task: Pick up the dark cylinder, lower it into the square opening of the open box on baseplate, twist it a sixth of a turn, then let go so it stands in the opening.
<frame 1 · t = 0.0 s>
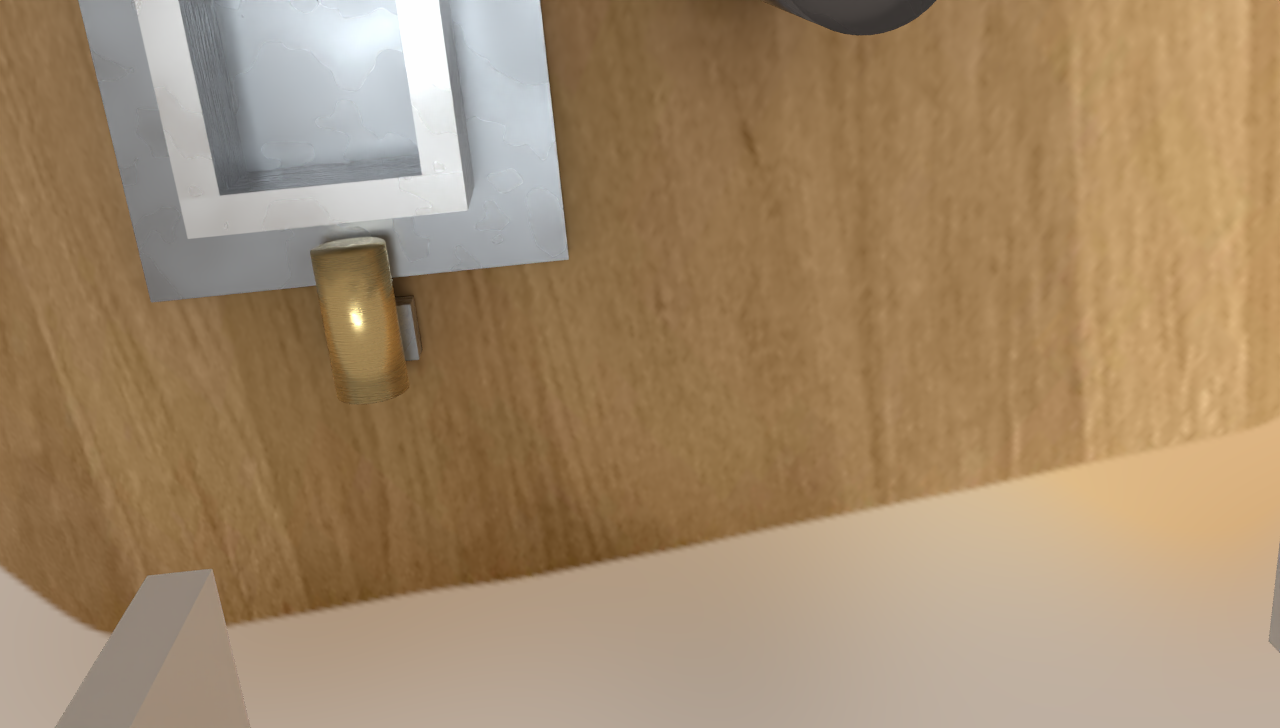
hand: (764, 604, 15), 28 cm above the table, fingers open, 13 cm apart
open box on baseplate: (329, 64, 39), on the table
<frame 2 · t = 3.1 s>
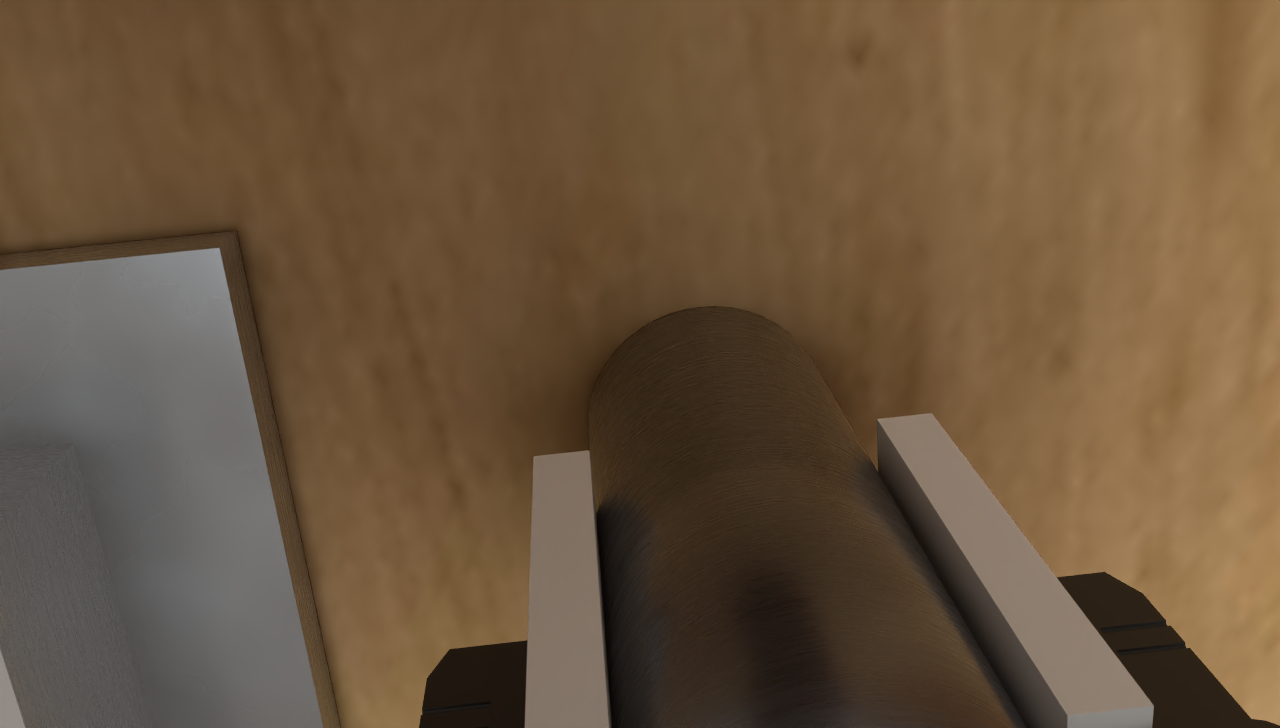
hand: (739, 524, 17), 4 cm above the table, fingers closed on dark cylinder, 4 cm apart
dark cylinder: (708, 421, 20), on the table, touching gripper
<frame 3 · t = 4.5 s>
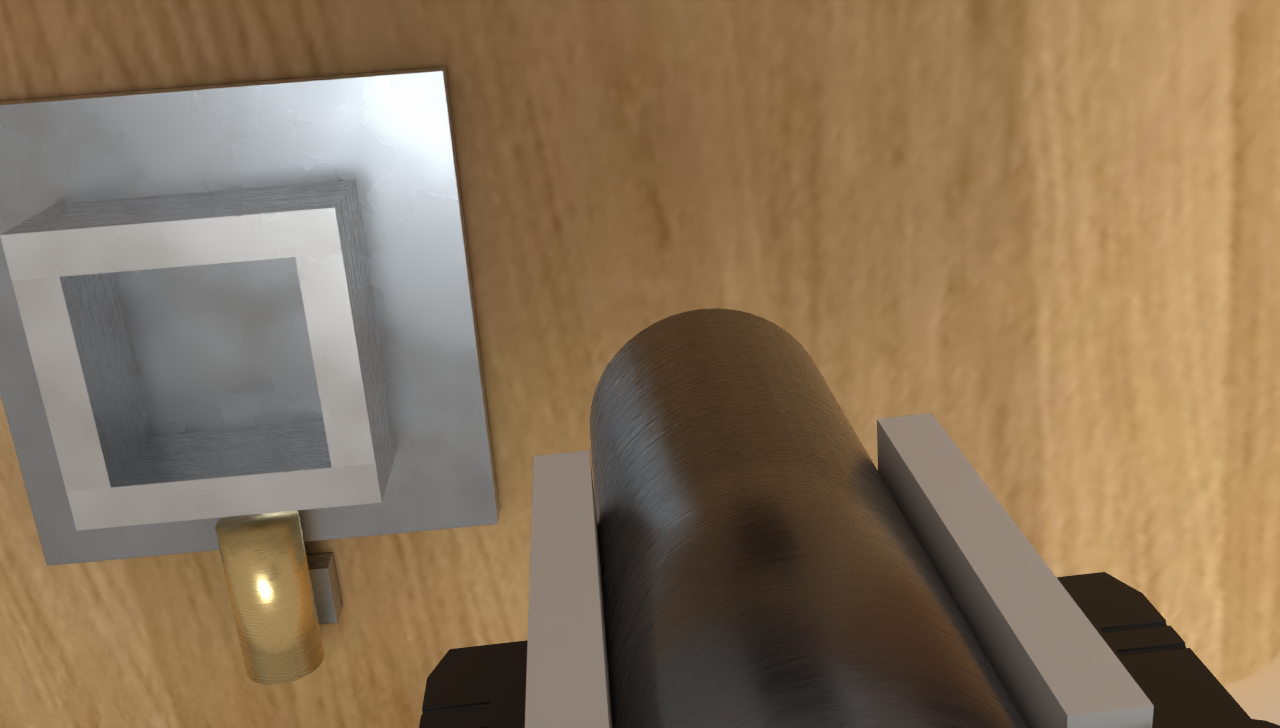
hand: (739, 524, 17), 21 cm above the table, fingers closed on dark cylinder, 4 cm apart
dark cylinder: (709, 422, 20), point 17 cm above the table, touching gripper
open box on baseplate: (241, 322, 36), on the table
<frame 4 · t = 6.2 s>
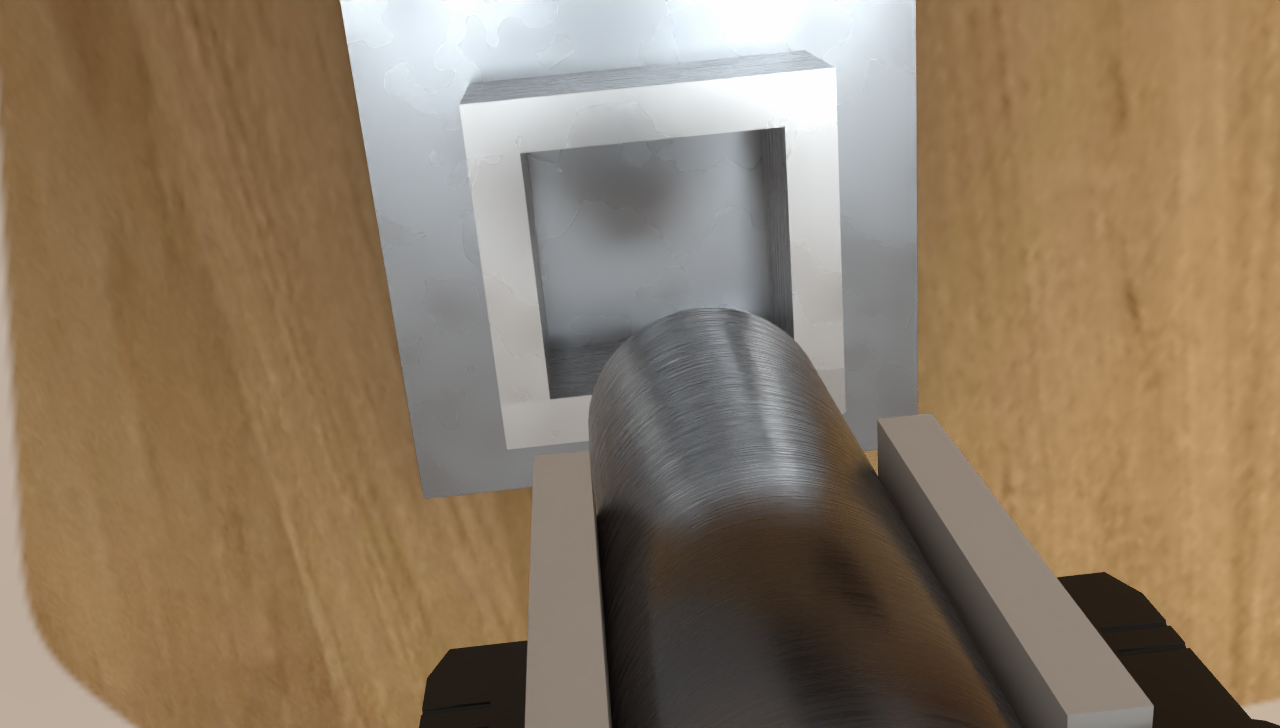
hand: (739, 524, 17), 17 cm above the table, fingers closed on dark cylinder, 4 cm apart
dark cylinder: (707, 420, 20), point 13 cm above the table, touching gripper
open box on baseplate: (649, 221, 33), on the table
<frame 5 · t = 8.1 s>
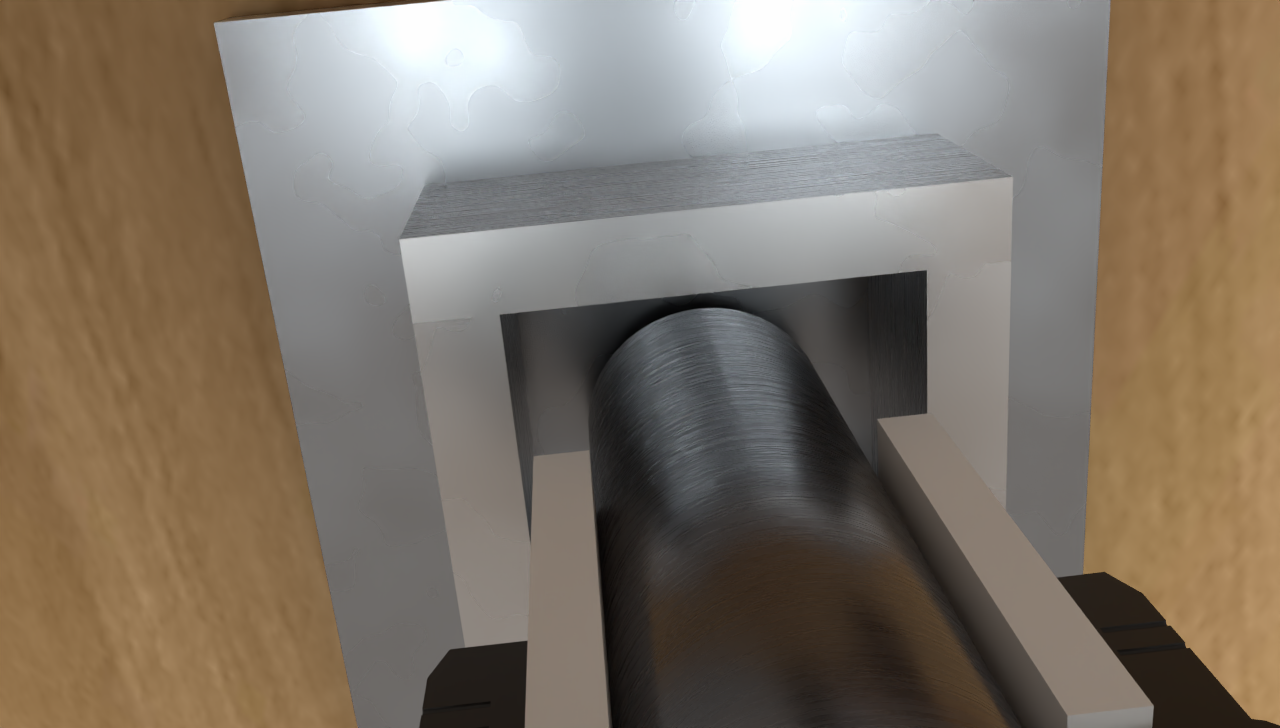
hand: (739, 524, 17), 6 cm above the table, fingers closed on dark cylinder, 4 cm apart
dark cylinder: (707, 421, 20), point 2 cm above the table, touching gripper
open box on baseplate: (694, 376, 22), on the table
when the fingers open (6 cm above the table, at t = 9.5 s): dark cylinder stays where it is, resting on open box on baseplate.
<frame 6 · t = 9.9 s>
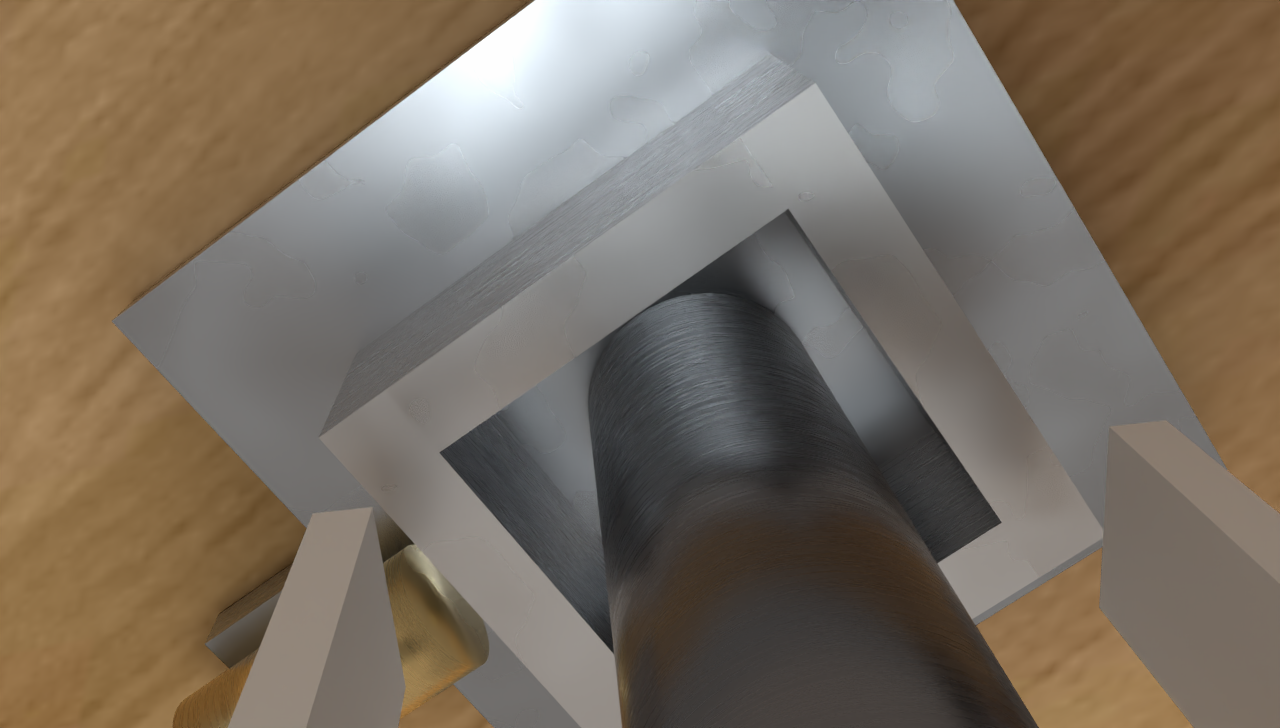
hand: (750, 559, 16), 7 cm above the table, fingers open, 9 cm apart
dark cylinder: (702, 403, 21), point 1 cm above the table, touching open box on baseplate
open box on baseplate: (694, 378, 22), on the table
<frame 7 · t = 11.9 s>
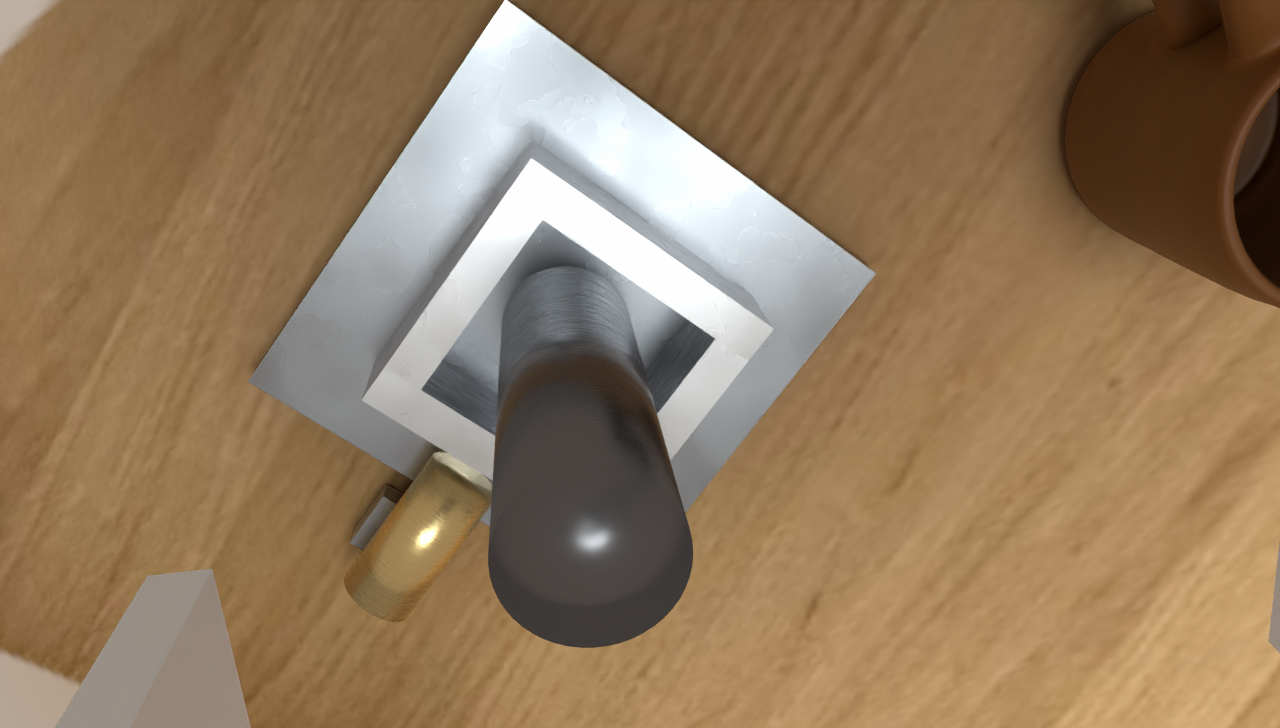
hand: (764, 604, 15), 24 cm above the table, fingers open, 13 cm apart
dark cylinder: (566, 328, 38), point 1 cm above the table, touching open box on baseplate
open box on baseplate: (563, 317, 39), on the table
mug: (1139, 62, 38), on the table
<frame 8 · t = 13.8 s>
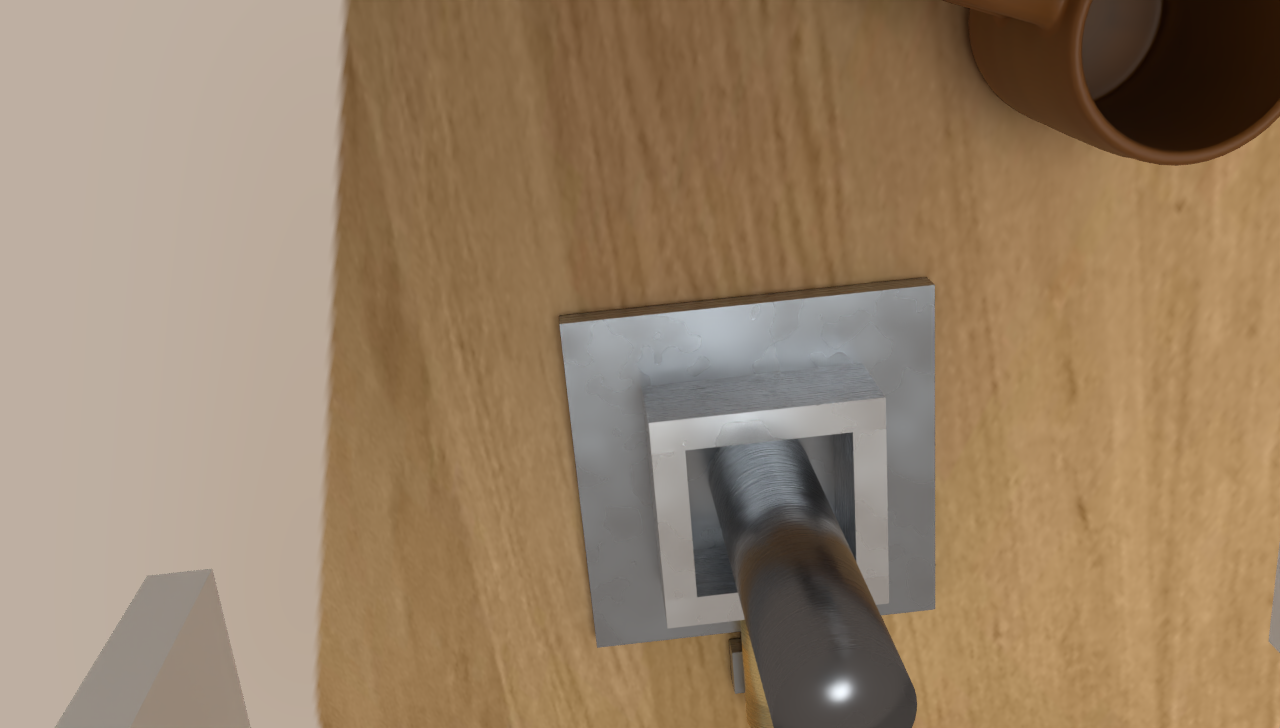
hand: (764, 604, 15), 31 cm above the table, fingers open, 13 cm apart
dark cylinder: (759, 474, 47), point 1 cm above the table, touching open box on baseplate
open box on baseplate: (753, 463, 48), on the table
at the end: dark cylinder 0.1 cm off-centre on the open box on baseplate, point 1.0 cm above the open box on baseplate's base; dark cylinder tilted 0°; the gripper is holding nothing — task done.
